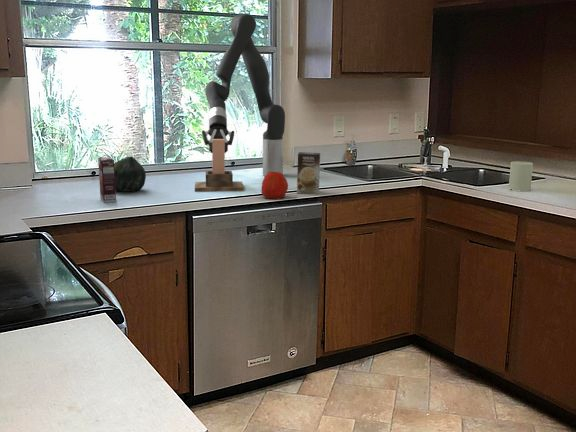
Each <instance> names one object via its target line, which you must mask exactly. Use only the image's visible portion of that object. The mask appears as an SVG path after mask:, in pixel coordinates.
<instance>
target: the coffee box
mask: <svg viewBox="0 0 576 432" xmlns="http://www.w3.org/2000/svg"><path fill="white" fill-rule="evenodd" d="M320 173H321V153H320V152H303V151H302V152H300V151H299V152H298V153H297V173H296V176H297V178H296V194H309V195H310V194H312V195H319V193H320V175H321V174H320Z"/></svg>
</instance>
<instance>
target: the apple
mask: <svg viewBox="0 0 576 432" xmlns="http://www.w3.org/2000/svg"><path fill="white" fill-rule="evenodd" d="M288 190H289V184H288V181H287V179H286V177H285V176H284V173H283V174H282V173H280V172H275V171H274V172H268V173H267V174H266V176H264V178H263V180H262V183H261V194H262V196H263V197H264V198H266V199H270V200H279V199H282V198H284V197H285V196H286V194H287V192H288Z"/></svg>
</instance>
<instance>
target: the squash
mask: <svg viewBox="0 0 576 432" xmlns="http://www.w3.org/2000/svg"><path fill="white" fill-rule="evenodd" d="M114 170H115V188H116V192H121V191H126V192H128V191H129V192H131V193H135V192H139V191H140V190H142V189H143V188H144V186H145V183H146V178H147V177H146V176H147V174H146V170H145V168H144V167H143V165H142V164H141V163H140V162H139V161H138V160H137V159H136V158H135V157H134V156H126V157H124V158H121V159H120V160H117V161H116V162H114Z"/></svg>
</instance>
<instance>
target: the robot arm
mask: <svg viewBox="0 0 576 432" xmlns="http://www.w3.org/2000/svg"><path fill="white" fill-rule="evenodd" d="M256 27H257V22H256V19H255V17H254V16H253V15H251V14H249V13H242V14H237V15H233V17H232V18H231V20H230V30H231V32H232V35H233V40H232V42H231V43H230V45H229V47H228V48H227V50H226V51H225V52H224V54H223V56H222V58H221V59H220V62H219V65H218V66H217V69H216V72H215V76H216V77H217V78H218V79H219V80H220V82H221V84H220V83H218V82H217V81H213V80H211V81H209V82H208V83H207V84H206V86H205V87H204V89H205V90H204V94H205V98H206V101H207V103H208V106H209V107H208V108H209V113H208V114H209V115H208V130H206V131H205V130H202V131H201V136H202V139H203V143H204V145H205V146H207V145H208V148H209V150H208V151H209V152H210V153H212V139H225V154H226V153H228V151H229V146H232V145H233V142H234V138H235V131H234V130H232V131H229V129H228V126H227V125H228V124H227V123H228V122H227V121H228V119H227V117H228V116H227V110H226V109H227V108H226V107H227V105H226V101H227V100H228V98H229V95H230V90H231V82H232V78H233V74H235V73H234V72H235V70H236V68H237V65H238V62H239V60H240V57H242V61H243V63H244V66H245V70H246V73H247V75H248V79H249V81H250V84H251V87H252V90H253V94H254V96H255V99H256V103H257V107H258V112H259V116H260V119H261V120H262V122H263V123H265V124H267V126H266V130H265V131H264V132H263V133H262V176H264V177H265V176H266V174H267V173H268V172H274V171H275V172H280V173H282V174H283V175H284V155H283V136H284V134H285V126H286V125H285V124H286V113H285V109H284V108H283V107H282V106H281V105H279V104H274V102H273V100H272V97H271V94H270V73H269V70H268V66H267V63H266V60H265V59H264V57H263V56H262V54H261V53H260V51H259V50H258V49H257V47H256V45H255V43H254V41H253V34H254V32H255V30H256ZM208 135H209V137H210V139H209V140H208ZM227 136H228V138H229V140H228V139H227Z"/></svg>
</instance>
